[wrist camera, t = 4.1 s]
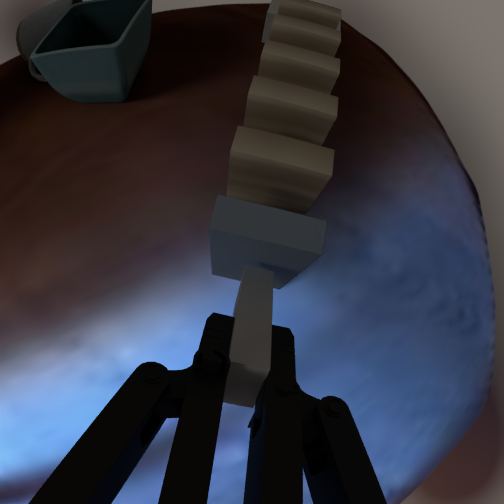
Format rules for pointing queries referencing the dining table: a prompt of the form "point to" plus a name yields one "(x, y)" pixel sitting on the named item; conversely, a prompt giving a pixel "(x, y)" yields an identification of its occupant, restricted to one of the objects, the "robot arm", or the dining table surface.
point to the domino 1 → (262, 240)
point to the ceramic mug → (39, 30)
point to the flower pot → (96, 49)
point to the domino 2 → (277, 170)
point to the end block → (270, 17)
